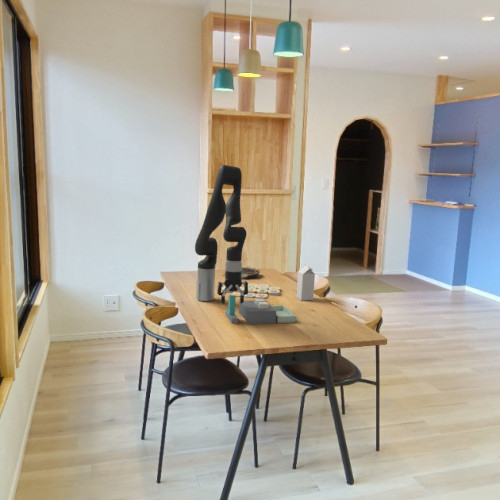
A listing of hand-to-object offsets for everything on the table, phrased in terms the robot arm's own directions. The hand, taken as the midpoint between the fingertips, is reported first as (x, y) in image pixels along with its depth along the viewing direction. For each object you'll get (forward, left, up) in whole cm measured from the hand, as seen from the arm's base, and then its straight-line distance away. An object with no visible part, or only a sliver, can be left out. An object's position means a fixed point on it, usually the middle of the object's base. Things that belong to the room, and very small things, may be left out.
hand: (232, 303), depth 230 cm
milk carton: (+49, +30, -8) cm, 58 cm away
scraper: (0, 0, -8) cm, 8 cm away
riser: (+12, 0, -7) cm, 14 cm away
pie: (+29, +90, -8) cm, 95 cm away
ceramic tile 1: (+14, -3, -1) cm, 15 cm away
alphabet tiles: (+24, +51, -8) cm, 57 cm away
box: (+24, 0, -7) cm, 25 cm away
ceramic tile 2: (+14, +3, -1) cm, 15 cm away
